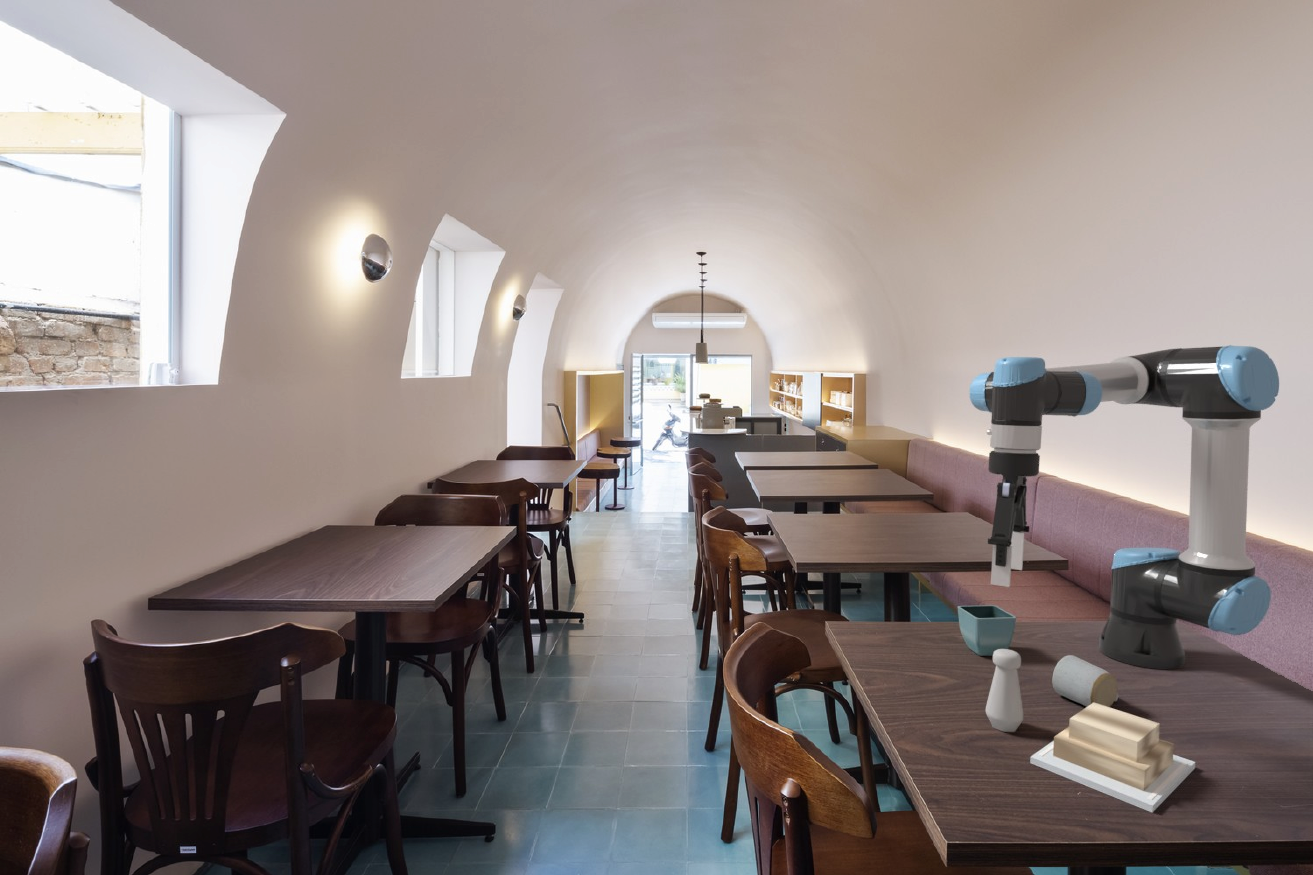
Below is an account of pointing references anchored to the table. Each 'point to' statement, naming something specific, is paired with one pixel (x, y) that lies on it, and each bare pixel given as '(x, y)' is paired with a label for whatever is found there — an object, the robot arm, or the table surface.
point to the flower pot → (986, 628)
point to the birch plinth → (1115, 762)
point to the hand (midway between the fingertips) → (1007, 576)
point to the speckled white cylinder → (1084, 682)
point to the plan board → (1114, 788)
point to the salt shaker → (1005, 692)
